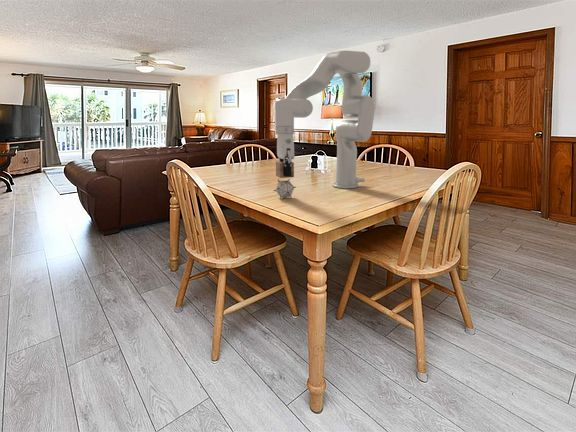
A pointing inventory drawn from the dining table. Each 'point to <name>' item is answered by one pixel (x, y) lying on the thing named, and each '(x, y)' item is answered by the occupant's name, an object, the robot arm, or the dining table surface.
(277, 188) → the grey spiked ball
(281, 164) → the walnut cube
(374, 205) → the dining table surface
